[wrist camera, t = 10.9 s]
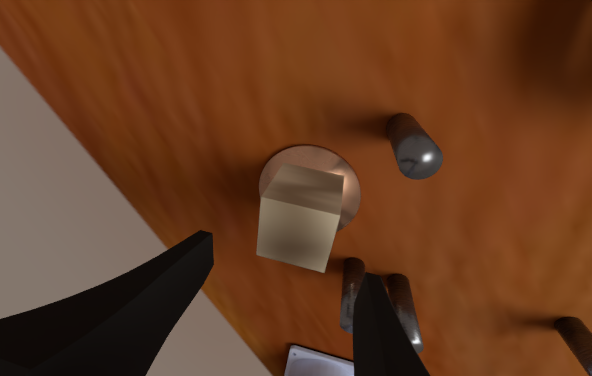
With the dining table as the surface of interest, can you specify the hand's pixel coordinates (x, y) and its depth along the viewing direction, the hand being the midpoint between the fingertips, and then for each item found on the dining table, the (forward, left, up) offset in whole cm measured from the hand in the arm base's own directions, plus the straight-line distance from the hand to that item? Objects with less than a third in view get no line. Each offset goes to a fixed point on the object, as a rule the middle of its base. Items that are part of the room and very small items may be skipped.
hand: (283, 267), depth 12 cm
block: (0, 0, -7) cm, 7 cm away
